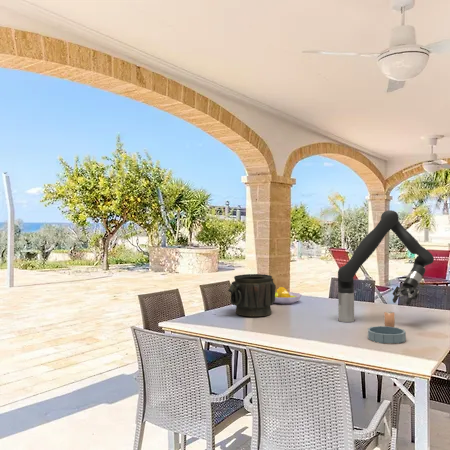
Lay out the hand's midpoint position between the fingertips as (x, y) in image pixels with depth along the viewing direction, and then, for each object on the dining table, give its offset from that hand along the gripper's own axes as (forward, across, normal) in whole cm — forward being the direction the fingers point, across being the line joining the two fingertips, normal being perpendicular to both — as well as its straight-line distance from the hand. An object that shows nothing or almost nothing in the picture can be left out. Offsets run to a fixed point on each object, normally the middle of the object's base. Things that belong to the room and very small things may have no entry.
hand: (400, 303), depth 255 cm
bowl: (+28, +10, -8) cm, 30 cm away
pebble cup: (+17, 0, +3) cm, 17 cm away
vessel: (+40, -81, -20) cm, 93 cm away
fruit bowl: (+11, -102, +10) cm, 103 cm away
